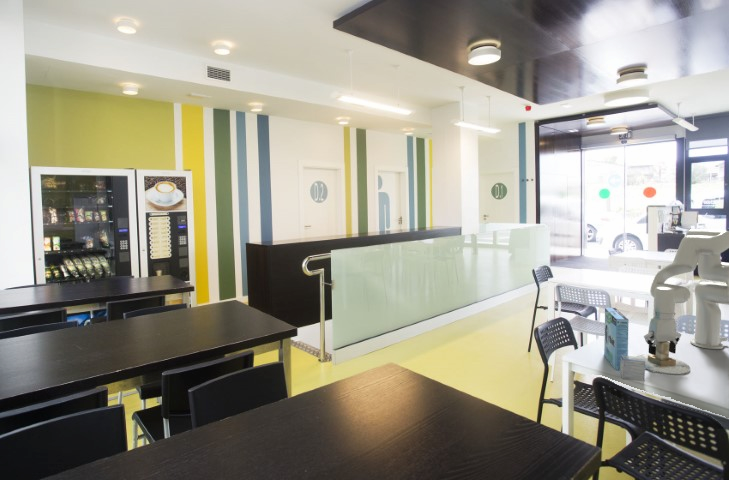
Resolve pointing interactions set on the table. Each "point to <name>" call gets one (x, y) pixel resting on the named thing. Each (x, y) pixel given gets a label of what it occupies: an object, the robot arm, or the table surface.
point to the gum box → (615, 336)
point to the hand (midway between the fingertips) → (661, 353)
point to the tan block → (662, 350)
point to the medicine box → (632, 368)
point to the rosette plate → (665, 365)
